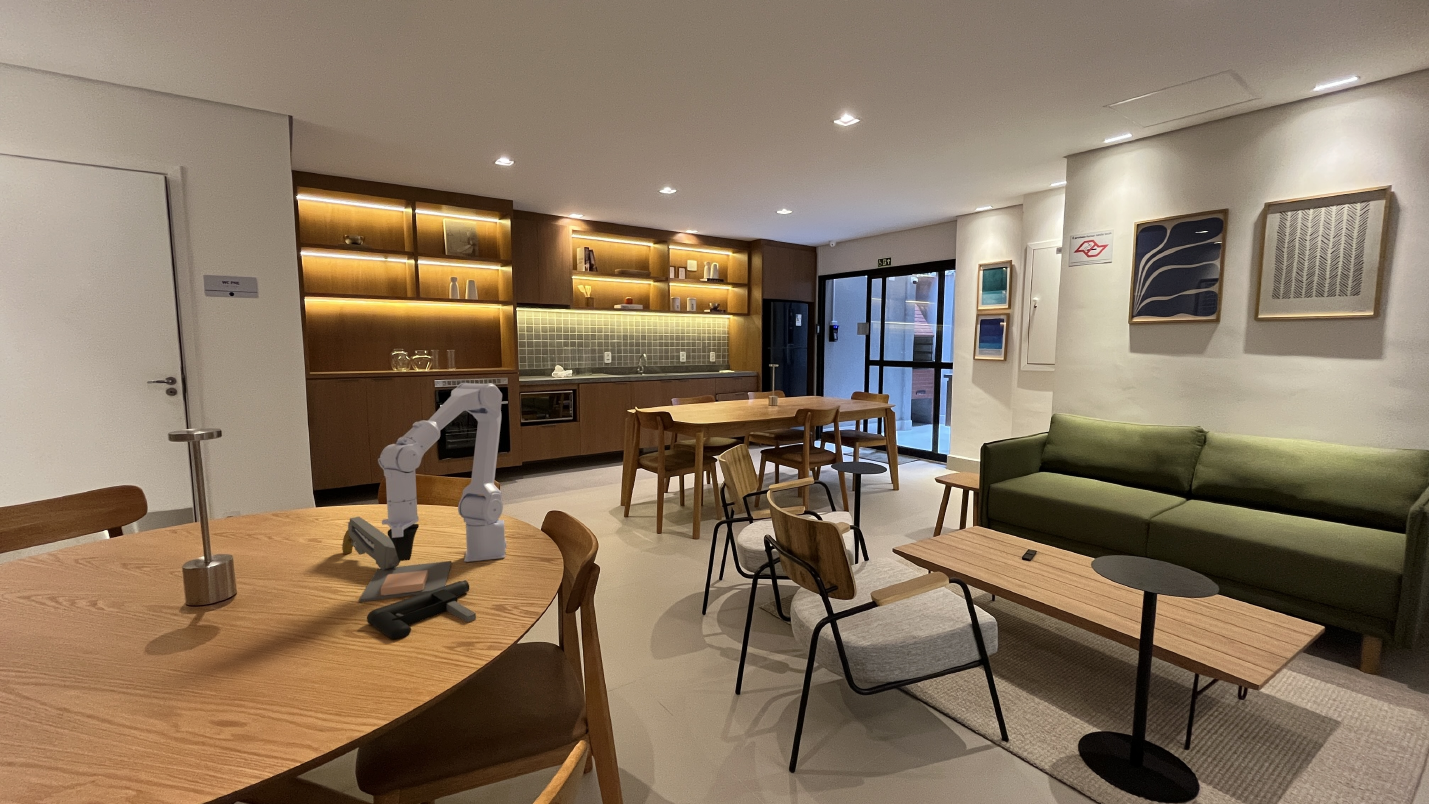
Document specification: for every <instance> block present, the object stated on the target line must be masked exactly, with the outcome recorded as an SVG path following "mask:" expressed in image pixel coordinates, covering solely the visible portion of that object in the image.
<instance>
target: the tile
mask: <svg viewBox="0 0 1429 804" xmlns="http://www.w3.org/2000/svg"><path fill="white" fill-rule="evenodd" d="M427 578H428V570H424V571H415V572H407V573H398V574H389V575H388V576H387V578H386V579H385V581H384V583H383V585H382V587H381V595H384V596H385V595H393V594H401V593H409V592H417V591H422V590H423V589H424V586H425V583H426V581H427Z"/></svg>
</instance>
